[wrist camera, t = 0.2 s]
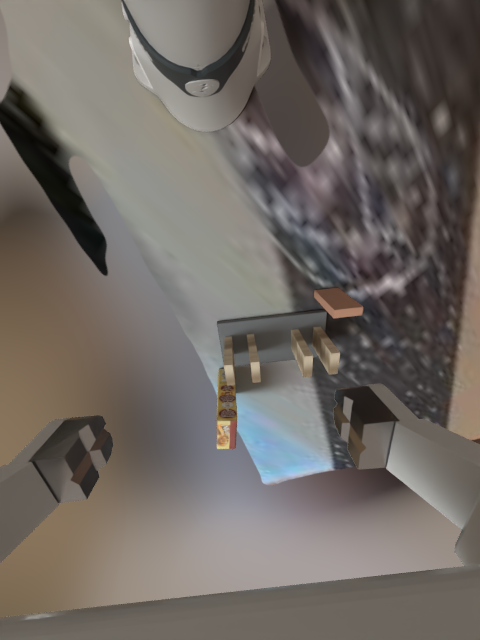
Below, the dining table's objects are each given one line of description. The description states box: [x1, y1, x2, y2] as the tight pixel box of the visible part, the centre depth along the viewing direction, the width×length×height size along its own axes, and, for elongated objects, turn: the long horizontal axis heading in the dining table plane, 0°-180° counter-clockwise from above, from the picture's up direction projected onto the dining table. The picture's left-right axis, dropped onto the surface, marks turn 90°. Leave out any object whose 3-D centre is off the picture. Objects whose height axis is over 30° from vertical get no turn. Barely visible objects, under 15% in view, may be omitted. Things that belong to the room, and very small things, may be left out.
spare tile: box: [314, 288, 363, 318], centre depth 43 cm, size 5×2×10 cm, turn 96°
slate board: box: [217, 310, 327, 366], centre depth 52 cm, size 12×24×1 cm, turn 96°
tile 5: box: [312, 327, 340, 374], centre depth 47 cm, size 5×2×10 cm, turn 6°
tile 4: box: [291, 329, 313, 377], centre depth 47 cm, size 5×2×10 cm, turn 6°
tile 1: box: [224, 336, 235, 386], centre depth 47 cm, size 5×2×10 cm, turn 6°
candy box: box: [217, 369, 237, 449], centre depth 51 cm, size 9×4×15 cm, turn 178°
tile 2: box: [247, 334, 261, 383], centre depth 47 cm, size 5×2×10 cm, turn 6°
